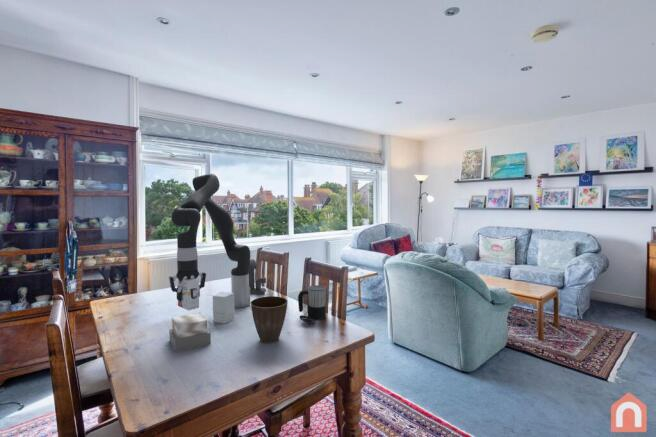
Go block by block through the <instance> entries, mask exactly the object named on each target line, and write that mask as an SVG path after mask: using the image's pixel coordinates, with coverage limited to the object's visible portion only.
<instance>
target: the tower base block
mask: <svg viewBox="0 0 656 437" xmlns="http://www.w3.org/2000/svg"><path fill="white" fill-rule="evenodd" d="M168 330H169V332H168V333H169V341H170V344H171V346H172V348H173V349H174V352H175V353H178V352H183V351H187V350H191V349H195V348H199V347H203V346H207V345H211V344H212V341H211V339H212V338H211V332H210V330H209V329H208V328H207V332H206V333H202V334H198V335H193V336H189V337H184V338H180V339H178V338H177V337H176V335H175V333H174V331H173V330H172V328H170V329H168Z"/></svg>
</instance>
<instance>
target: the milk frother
mask: <svg viewBox="0 0 656 437" xmlns="http://www.w3.org/2000/svg"><path fill="white" fill-rule="evenodd" d="M326 290H327V287H326V286H325V285H318V284H317V285H308V286H307V288H306V289H302V290H300V291H299V293H298V296H297V298H298V299H297V301H298V302H297V303H298V312H299V313H302V312H304V304H303V303H304V302H303V299H304V298H303V296H304V295H307V297H306V298H307V299H306V300H307V305H306V306H307V308H306V309H307V310H306V311H307V312H306V313H307V316H306V315H303V314H301V315H299V319H300V320H301V321H302V322H304V323H306V324H308V325H315V323H316V321H320V320H324V319H326V318H327V313H326V296H327V295H326V292H327V291H326Z"/></svg>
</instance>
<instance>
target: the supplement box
mask: <svg viewBox="0 0 656 437" xmlns="http://www.w3.org/2000/svg"><path fill="white" fill-rule="evenodd" d="M235 318H236V317H235V307H234V293H231V292H225V291H219V292H218V293H216V294H214V295H212V321H213V322H214V323H220V324H221V323H223V324H227V323H229V322H231V321H232V320H234V319H235Z"/></svg>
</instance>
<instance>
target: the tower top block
mask: <svg viewBox="0 0 656 437" xmlns="http://www.w3.org/2000/svg"><path fill="white" fill-rule="evenodd" d="M171 320H172V321H171V324H172V325H171V329H172V330H173V331H174V333H175V335H176V337H177V338H178V339H180V338H184V337H189V336H193V335H198V334H202V333H206V332H207V329H208V319H207V318H206V317H205V316H204V315H203V314H202V312H196V313H190V314H185V315H178V316H175V317H172V318H171Z"/></svg>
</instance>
